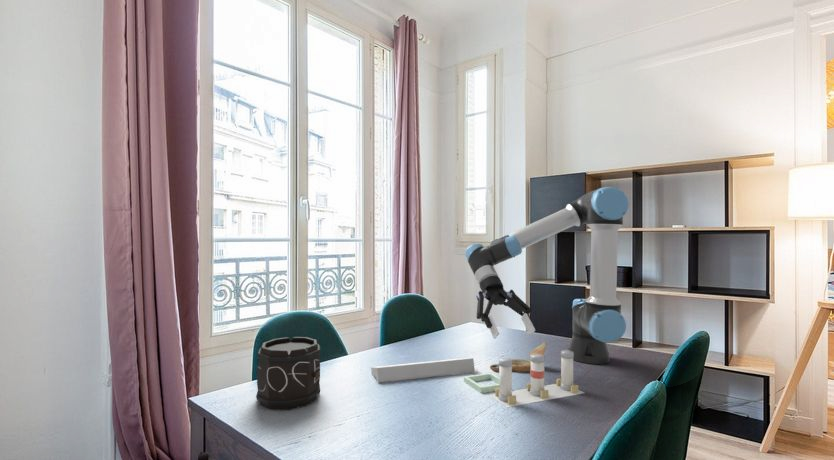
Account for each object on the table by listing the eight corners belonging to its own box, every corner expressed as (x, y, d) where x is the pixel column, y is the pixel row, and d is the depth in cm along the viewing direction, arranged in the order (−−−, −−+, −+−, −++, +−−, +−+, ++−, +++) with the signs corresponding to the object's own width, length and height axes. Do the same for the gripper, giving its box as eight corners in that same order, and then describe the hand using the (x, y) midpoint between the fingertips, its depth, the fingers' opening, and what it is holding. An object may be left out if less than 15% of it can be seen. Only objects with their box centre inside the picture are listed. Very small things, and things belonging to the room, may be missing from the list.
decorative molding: (371, 382, 137) (378, 383, 128) (370, 367, 138) (377, 367, 129) (462, 371, 148) (475, 372, 139) (461, 358, 149) (473, 358, 140)
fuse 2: (567, 385, 123) (567, 349, 123) (576, 390, 120) (576, 352, 120) (558, 387, 121) (558, 350, 122) (566, 391, 118) (566, 353, 118)
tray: (490, 382, 130) (490, 372, 130) (509, 393, 120) (509, 383, 120) (463, 386, 126) (463, 376, 126) (480, 398, 116) (480, 387, 117)
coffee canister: (296, 417, 103) (297, 355, 104) (241, 406, 110) (242, 348, 110) (334, 392, 120) (335, 339, 121) (284, 383, 126) (285, 333, 127)
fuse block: (562, 387, 126) (562, 376, 126) (585, 398, 117) (585, 386, 117) (488, 400, 115) (488, 387, 115) (507, 412, 107) (507, 399, 107)
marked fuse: (538, 390, 119) (538, 353, 119) (547, 395, 115) (547, 356, 115) (527, 392, 117) (527, 354, 118) (536, 397, 114) (536, 358, 114)
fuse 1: (507, 396, 114) (507, 357, 115) (514, 400, 111) (514, 360, 111) (496, 397, 113) (496, 358, 113) (503, 402, 110) (503, 362, 110)
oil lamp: (552, 374, 138) (552, 345, 138) (495, 379, 132) (495, 349, 132) (538, 366, 146) (538, 339, 146) (484, 371, 141) (484, 342, 141)
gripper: (514, 286, 148) (541, 337, 134) (453, 289, 138) (476, 344, 124) (523, 273, 143) (552, 324, 129) (461, 275, 133) (485, 330, 119)
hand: (515, 334), depth 126 cm, fingers open, 13 cm apart
